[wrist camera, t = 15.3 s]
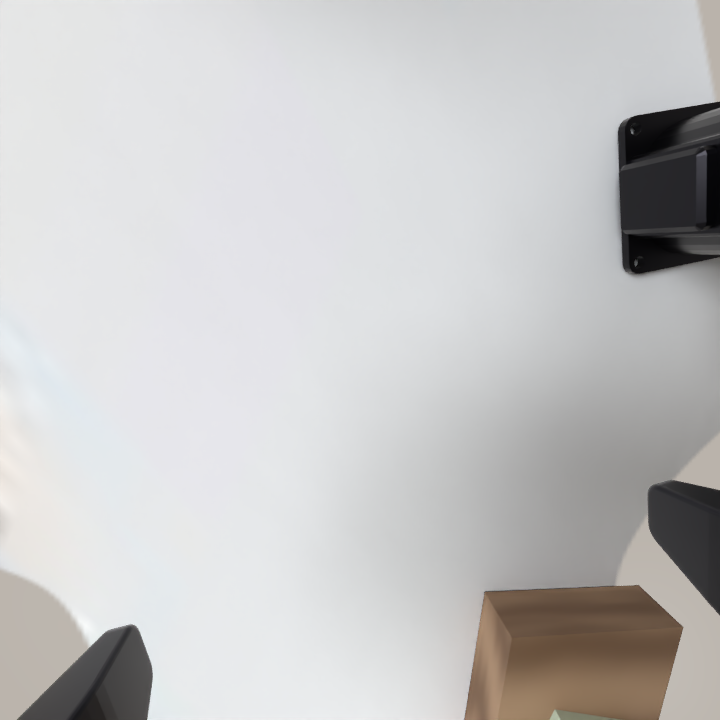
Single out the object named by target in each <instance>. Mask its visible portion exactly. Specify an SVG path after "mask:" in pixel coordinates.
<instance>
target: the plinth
mask: <svg viewBox="0 0 720 720" xmlns="http://www.w3.org/2000/svg"><path fill="white" fill-rule="evenodd" d="M682 630H683V627H682V626H681V625H680V624H679V623H678V622H677V621H676V620H675V619H674V618H673V617H672V616H671V615H670V614H669V613H667V612H666V611H665V610H664V609H663V608H662V607H661V606H660V605H659V604H658V603H657V602H656V601H655V600H653V598H652V597H651V596H649V595H648V594H647V593H646V592H645V591H644V590H643V589H642V588H641V587H640V586H639V585H634V586H611V587H588V588H565V589H542V590H519V591H496V592H485V594H484V600H483V606H482V613H481V619H480V625H479V631H478V638H477V644H476V650H475V657H474V663H473V669H472V675H471V682H470V688H469V694H468V701H467V707H466V713H465V719H464V720H550V718H551V716H552V714H553V712H554V710H555V709H556V710H562V711H569V712H575V713H581V714H588V715H594V716H601V717H607V718H614V719H620V720H659V716H660V712H661V708H662V705H663V700H664V697H665V693H666V689H667V686H668V682H669V678H670V675H671V671H672V667H673V663H674V660H675V656H676V652H677V649H678V645H679V641H680V637H681V634H682Z"/></svg>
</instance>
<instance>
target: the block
mask: <svg viewBox="0 0 720 720" xmlns="http://www.w3.org/2000/svg"><path fill="white" fill-rule="evenodd" d="M550 720H620V719H614V718H607V717H601V716H594V715H588V714H581V713H575V712H569V711H562V710H556V709H555V710H554V712H553V714H552V716H551V718H550Z"/></svg>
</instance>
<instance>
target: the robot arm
mask: <svg viewBox="0 0 720 720" xmlns="http://www.w3.org/2000/svg"><path fill="white" fill-rule="evenodd" d="M631 125H632V126H633V127H634V130H635V131H634V134H633V135H632V134H631V131H630V128H631ZM618 141H619V169H620V173H619V180H620V208H621V229H622V253H623V267H624V269H625V271H626V272H628V273H634V274H640V273H645V272H650V271H655V270H660V269H664V268H669V267H674V266H679V265H684V264H688V263H693V262H698V261H703V260H708V259H712V258H717V257H720V102H715V103H709V104H703V105H697V106H691V107H685V108H679V109H673V110H667V111H661V112H655V113H649V114H643V115H637V116H634V117H631V118H628V119H626V120H624V121H623V122H622V123H621V125H620V127H619V131H618ZM636 258H637V259H638V264H637V266H636V267H635V265H634V262H635V259H636ZM648 523H649V529H650V532H651V534H652V536H653V537H654V539H655V540H656V542H657V543H658V544H659V545H660V546H661V547H662V549H663V550H664V551H665V552H666V553H667V554H668V555H669V557H670V558H671V559H672V560H673V561H674V563H675V564H676V565H677V566H678V567H679V569H680V570H681V571H682V572H683V573H684V574H685V576H686V577H687V578H688V579H689V580H690V582H691V583H692V584H693V585H694V586H695V587H696V589H697V590H698V591H699V592H700V593H701V594H702V596H703V597H704V598H705V599H706V600H707V601H708V603H709V604H710V605H711V606H712V607H713V608H714V609H715V610H716V612H717V613H718V614H719V615H720V490H716V489H711V488H707V487H702V486H697V485H693V484H689V483H684V482H679V481H675V480H669V481H665V482H662V483H658V484H654V485H652V486H651V487H650V488H649V490H648ZM152 679H153V673H152V665H151V662H150V659H149V656H148V654H147V651H146V648H145V645H144V643H143V640H142V637H141V634H140V632H139V630H138V628H137V627H136V626H135V625H132V624H130V625H126V626H122V627H118V628H115V629H111V630H108V631H107V632H105V633H104V634H103V635H102V636H101V637H100V638H99V639H98V640H97V641H96V642H95V643H94V644H93V645H92V646H91V647H90V648H89V649H88V650H87V651H86V652H85V653H84V654H83V655H82V656H81V657H80V658H79V659H78V660H77V661H76V662H75V663H74V664H73V665H72V666H70V668H69V669H68V670H67V671H65V672H64V673H63V674H62V675H61V677H59V678H58V679H57V680H56V681H55V682H54V683H53V684H52V685H51V686H50V687H49V688H48V689H47V690H46V691H45V692H44V693H43V694H42V695H41V696H40V697H39V698H38V699H37V700H36V701H35V702H34V703H33V704H32V705H31V706H30V707H29V708H28V709H27V710H26V711H25V712H24V713H23V714H22V715H21V716H20V717H19V718H18V719H17V720H147V717H148V710H149V702H150V695H151V688H152Z"/></svg>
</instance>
